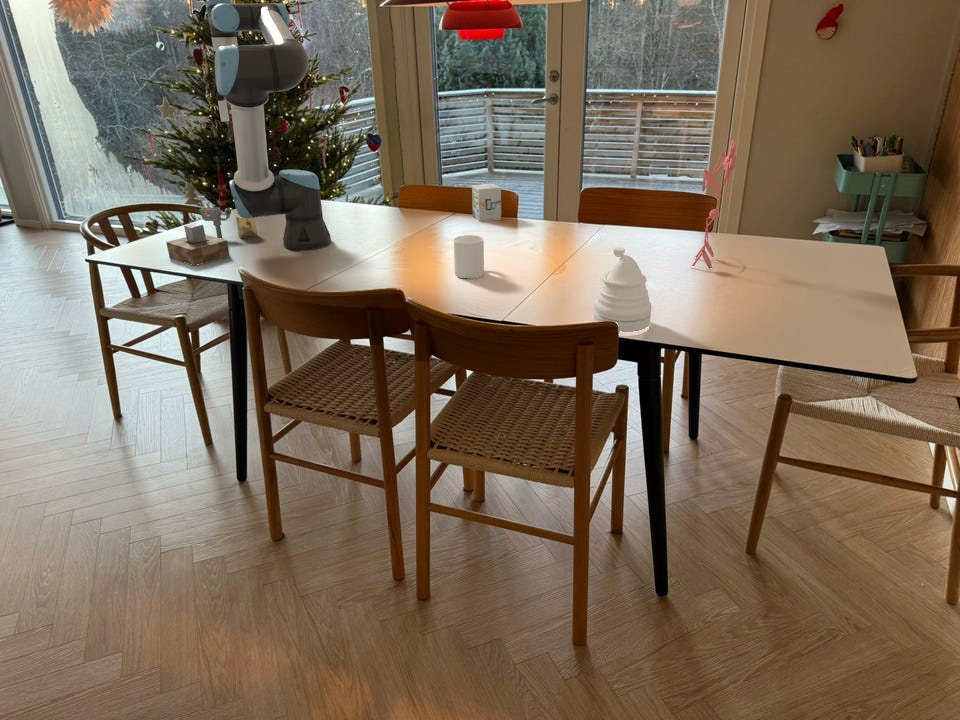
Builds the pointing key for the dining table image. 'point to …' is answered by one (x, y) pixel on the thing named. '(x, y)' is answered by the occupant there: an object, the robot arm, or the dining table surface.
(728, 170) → the pink branching twig
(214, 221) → the mechanical component
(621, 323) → the honey pot
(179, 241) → the bore block
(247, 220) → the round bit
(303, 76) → the robot arm
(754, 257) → the dining table surface
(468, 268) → the mug
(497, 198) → the ink box
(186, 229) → the square bit
